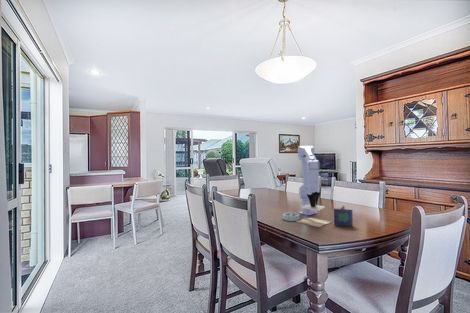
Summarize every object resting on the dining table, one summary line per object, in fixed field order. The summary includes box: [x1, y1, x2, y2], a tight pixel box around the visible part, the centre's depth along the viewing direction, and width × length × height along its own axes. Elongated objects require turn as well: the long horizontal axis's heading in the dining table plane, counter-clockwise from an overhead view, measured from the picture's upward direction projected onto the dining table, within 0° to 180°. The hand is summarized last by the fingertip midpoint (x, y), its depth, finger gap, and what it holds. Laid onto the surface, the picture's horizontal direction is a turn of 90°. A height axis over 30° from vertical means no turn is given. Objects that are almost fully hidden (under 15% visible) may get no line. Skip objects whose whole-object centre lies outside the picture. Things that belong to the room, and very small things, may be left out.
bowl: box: [282, 212, 300, 222], centre depth 149 cm, size 9×9×3 cm
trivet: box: [295, 216, 333, 228], centre depth 141 cm, size 14×14×1 cm
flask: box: [333, 205, 354, 227], centre depth 134 cm, size 9×3×11 cm, turn 74°
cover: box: [301, 203, 326, 212], centre depth 141 cm, size 10×10×4 cm
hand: (313, 205), depth 141 cm, fingers closed on cover, 3 cm apart
